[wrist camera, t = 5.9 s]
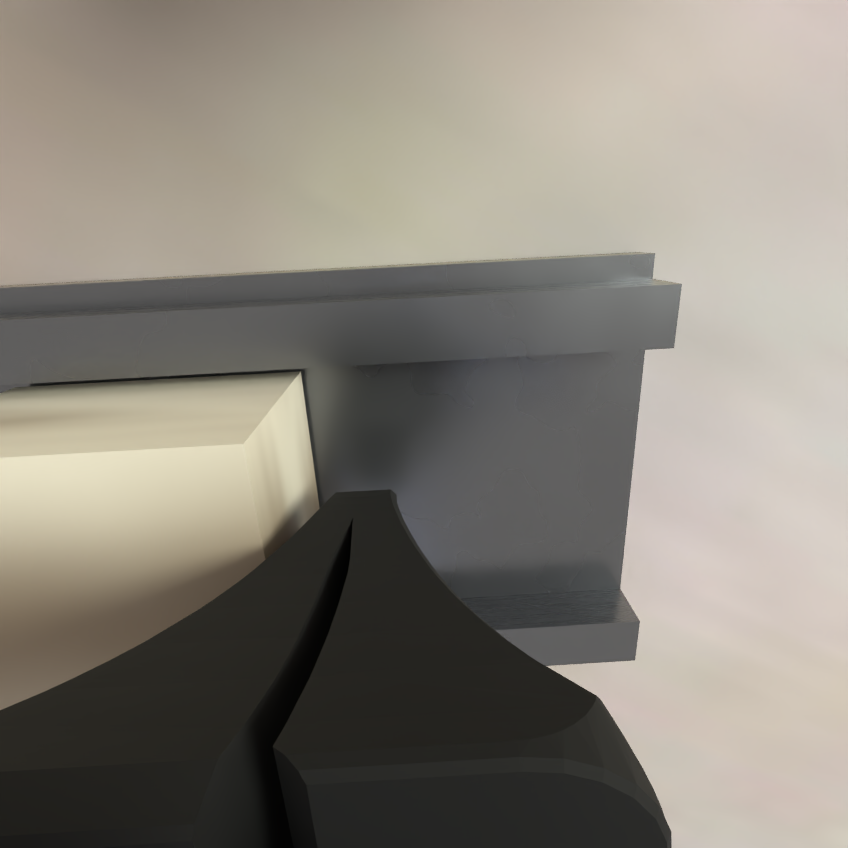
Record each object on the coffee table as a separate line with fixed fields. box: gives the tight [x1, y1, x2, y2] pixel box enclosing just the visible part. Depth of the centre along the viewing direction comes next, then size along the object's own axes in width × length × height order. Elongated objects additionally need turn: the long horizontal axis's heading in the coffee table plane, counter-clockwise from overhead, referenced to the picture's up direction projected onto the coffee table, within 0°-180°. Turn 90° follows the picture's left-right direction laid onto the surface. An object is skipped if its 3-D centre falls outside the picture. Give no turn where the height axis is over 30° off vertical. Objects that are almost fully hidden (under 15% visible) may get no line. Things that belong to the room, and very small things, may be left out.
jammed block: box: [0, 371, 320, 710], centre depth 10 cm, size 6×6×4 cm
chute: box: [0, 252, 682, 666], centre depth 12 cm, size 10×22×2 cm, turn 93°
